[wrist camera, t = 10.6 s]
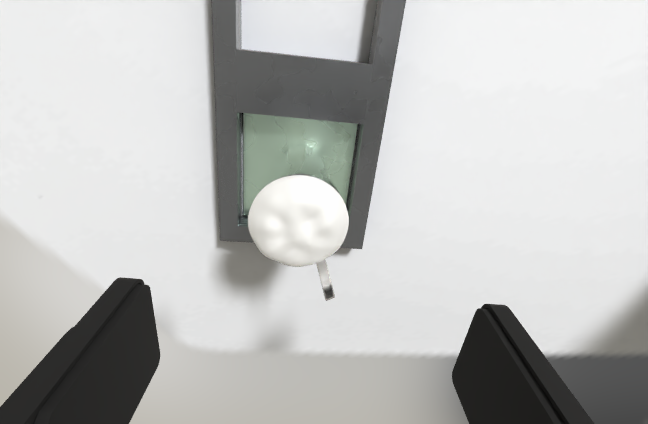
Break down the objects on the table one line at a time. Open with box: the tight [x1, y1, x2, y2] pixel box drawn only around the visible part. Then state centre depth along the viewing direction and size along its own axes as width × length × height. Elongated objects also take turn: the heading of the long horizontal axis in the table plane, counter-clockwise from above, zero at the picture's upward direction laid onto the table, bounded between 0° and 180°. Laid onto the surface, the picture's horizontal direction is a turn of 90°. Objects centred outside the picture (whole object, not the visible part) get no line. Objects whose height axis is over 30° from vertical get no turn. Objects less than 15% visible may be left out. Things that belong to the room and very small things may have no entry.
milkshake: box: [248, 145, 349, 301], centre depth 18 cm, size 4×5×10 cm
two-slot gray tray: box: [212, 0, 406, 249], centre depth 20 cm, size 10×21×2 cm, turn 174°
